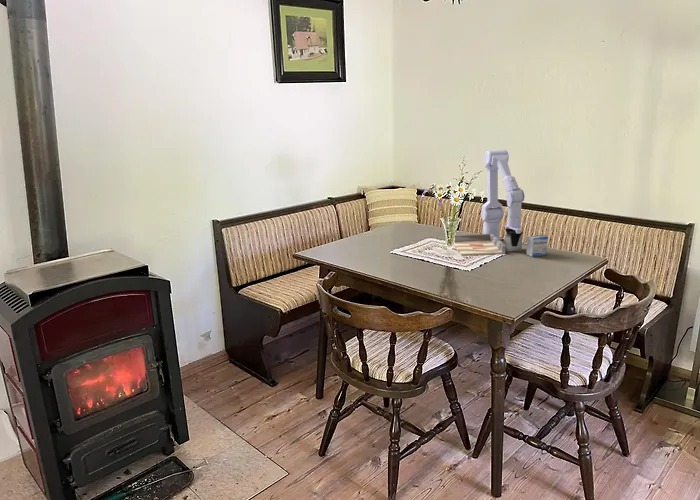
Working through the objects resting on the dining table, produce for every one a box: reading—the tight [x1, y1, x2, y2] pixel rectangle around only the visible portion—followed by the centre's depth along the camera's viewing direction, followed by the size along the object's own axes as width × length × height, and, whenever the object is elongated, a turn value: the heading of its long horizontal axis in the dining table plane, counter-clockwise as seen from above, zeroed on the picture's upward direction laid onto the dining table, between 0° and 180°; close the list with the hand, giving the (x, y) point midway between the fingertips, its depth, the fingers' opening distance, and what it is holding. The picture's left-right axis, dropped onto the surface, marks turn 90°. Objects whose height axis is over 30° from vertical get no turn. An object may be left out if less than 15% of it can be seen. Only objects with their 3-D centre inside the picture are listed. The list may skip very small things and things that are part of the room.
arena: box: [453, 233, 506, 256], centre depth 256 cm, size 22×20×4 cm
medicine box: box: [526, 234, 549, 258], centre depth 241 cm, size 8×4×9 cm, turn 105°
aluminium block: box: [503, 233, 523, 252], centre depth 250 cm, size 4×7×7 cm, turn 91°
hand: (513, 244), depth 250 cm, fingers closed on aluminium block, 4 cm apart
